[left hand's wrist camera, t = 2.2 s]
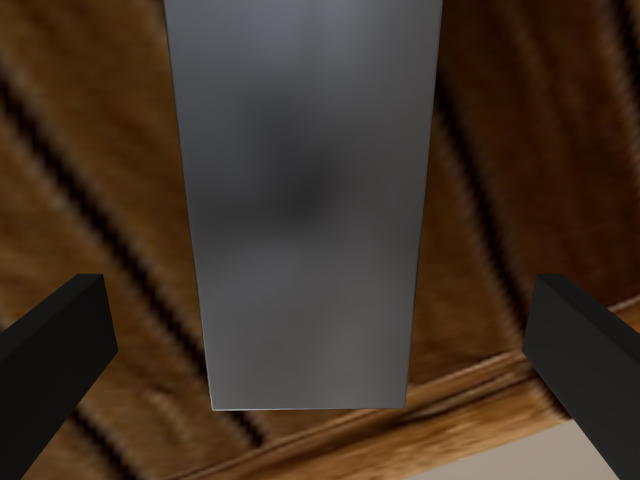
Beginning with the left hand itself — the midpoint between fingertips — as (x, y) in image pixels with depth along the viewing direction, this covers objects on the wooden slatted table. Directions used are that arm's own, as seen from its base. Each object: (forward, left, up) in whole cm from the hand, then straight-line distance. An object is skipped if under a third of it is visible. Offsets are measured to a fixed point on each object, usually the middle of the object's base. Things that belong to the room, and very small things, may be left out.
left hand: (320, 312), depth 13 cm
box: (-9, +5, -8) cm, 13 cm away
